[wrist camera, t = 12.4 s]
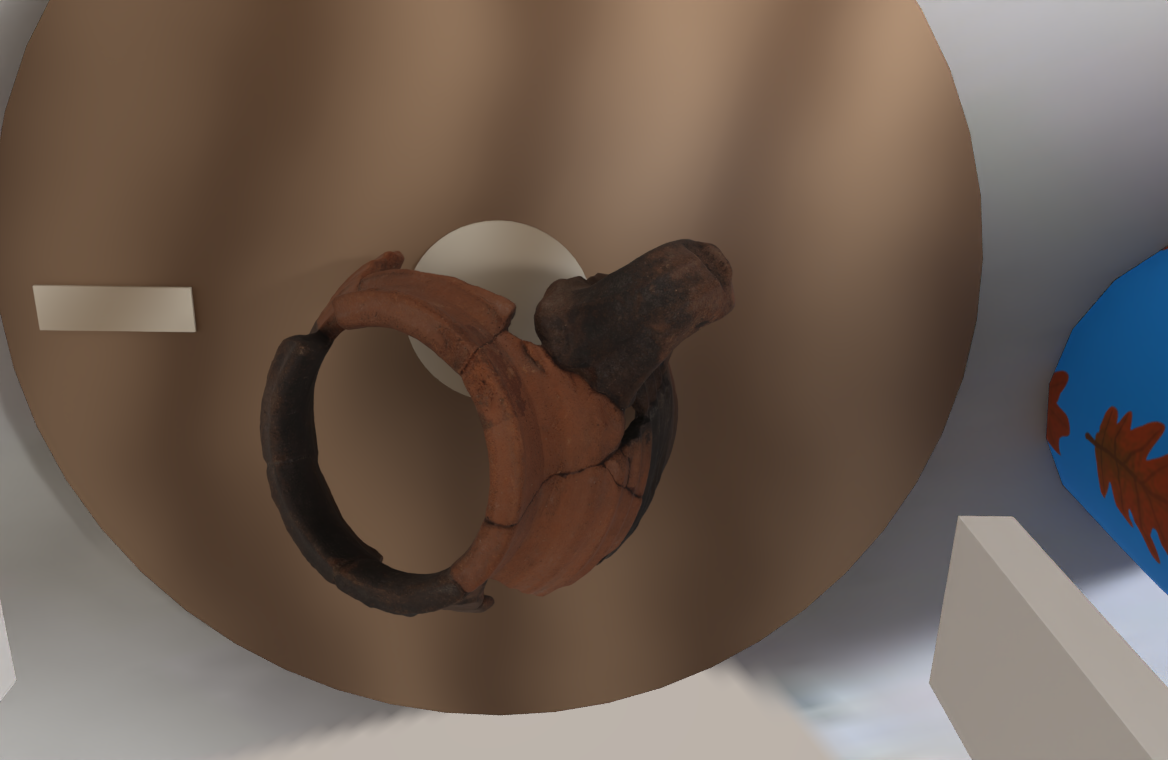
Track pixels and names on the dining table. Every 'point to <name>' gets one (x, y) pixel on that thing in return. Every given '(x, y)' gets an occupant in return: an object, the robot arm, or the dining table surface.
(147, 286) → the disc
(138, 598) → the dining table surface
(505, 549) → the pottery mug
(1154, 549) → the thermos
